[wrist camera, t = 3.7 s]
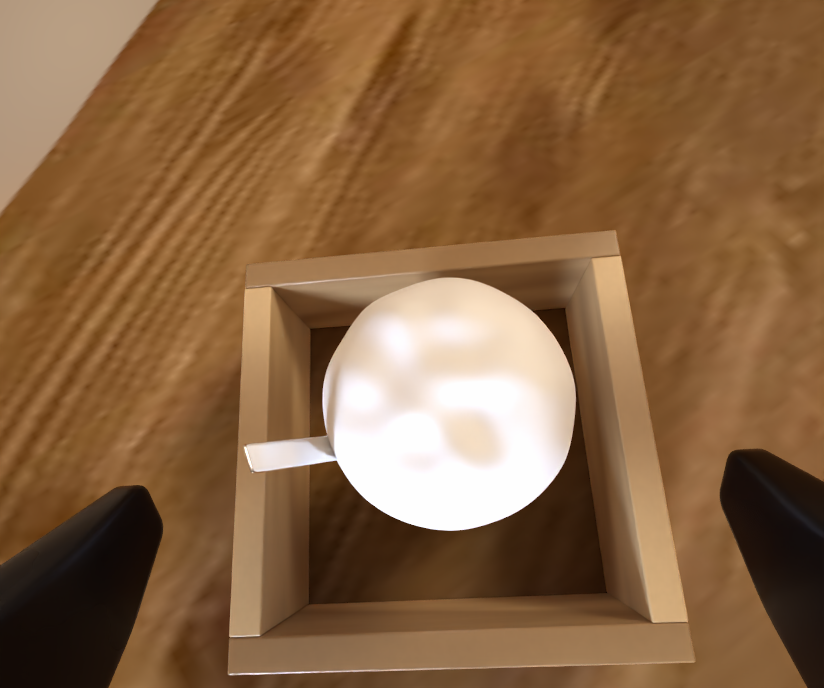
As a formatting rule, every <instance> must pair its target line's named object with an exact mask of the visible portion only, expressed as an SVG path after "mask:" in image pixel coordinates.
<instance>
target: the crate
mask: <svg viewBox="0 0 824 688" xmlns="http://www.w3.org/2000/svg"><path fill="white" fill-rule="evenodd" d="M437 278H464V279H469V280H474V281H477V282H480V283H483V284H486V285H489V286H491V287H493V288H495V289H498V290H500V291H501V292H503V293H505V294H507V295H509V296H511V297H512V298H514V299H516V300H517V301H519V302H520V303H522V304H523V305H525V306H526V307H527V308H529V309H530V310H531V311H533V310H546V309H558V308H566V309H565V311H566V318H567V325H568V332H569V339H570V345H571V352H572V359H573V366H574V373H575V380H576V387H577V393H578V400H579V407H580V414H581V421H582V428H583V434H584V441H585V448H586V455H587V462H588V469H589V476H590V482H591V489H592V496H593V503H594V510H595V517H596V524H597V530H598V537H599V544H600V551H601V558H602V565H603V571H604V578H605V585H606V591H607V593H597V594H571V595H545V596H518V597H492V598H466V599H440V600H414V601H388V602H362V603H336V604H310V605H308V604H309V489H310V465H305V466H299V467H293V468H287V469H281V470H275V471H269V472H263V473H252V472H251V471H250V469H249V466H248V463H247V460H246V457H245V454H244V451H243V445H244V444H248V443H256V442H266V441H277V440H287V439H298V438H308V437H310V329H313V328H325V327H337V326H350V325H352V324H353V322H354V321H355V320H356V318H357V317H358V316H359V315H360V313H361V312H362V311H363V310H364V309H365V308H366V307H367V306H369V305H370V304H371V303H373V302H374V301H376V300H378V299H379V298H381V297H383V296H385V295H388V294H390V293H392V292H395V291H397V290H400V289H403V288H405V287H408V286H411V285H413V284H416V283H420V282H423V281H427V280H431V279H437ZM245 287H246V289H245V299H244V321H243V343H242V365H241V387H240V409H239V431H238V453H237V475H236V497H235V519H234V541H233V563H232V585H231V607H230V629H229V636H230V637H231V638H230V639H229V654H228V675H258V674H295V673H331V672H367V671H403V670H440V669H476V668H512V667H548V666H585V665H621V664H657V663H693V662H695V655H694V649H693V644H692V638H691V633H690V628H689V624H688V623H687V621H688V616H687V611H686V605H685V600H684V595H683V589H682V584H681V578H680V573H679V568H678V562H677V557H676V551H675V546H674V541H673V535H672V530H671V524H670V519H669V514H668V508H667V503H666V497H665V492H664V487H663V481H662V476H661V470H660V465H659V460H658V454H657V449H656V443H655V438H654V433H653V427H652V422H651V416H650V411H649V406H648V400H647V395H646V389H645V384H644V379H643V373H642V368H641V362H640V357H639V352H638V346H637V341H636V335H635V330H634V324H633V319H632V314H631V308H630V303H629V297H628V292H627V287H626V281H625V276H624V270H623V265H622V260H621V256H620V250H619V245H618V240H617V234H616V231H615V230H609V231H598V232H587V233H577V234H566V235H555V236H544V237H534V238H523V239H512V240H501V241H490V242H480V243H469V244H458V245H447V246H436V247H426V248H415V249H404V250H393V251H383V252H372V253H361V254H350V255H339V256H329V257H318V258H307V259H296V260H286V261H275V262H264V263H253V264H247V265H246V284H245Z"/></svg>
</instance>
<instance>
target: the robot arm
mask: <svg viewBox="0 0 824 688" xmlns="http://www.w3.org/2000/svg"><path fill="white" fill-rule="evenodd" d="M720 502H721V506H722V509H723V511H724V514H725V516H726V518H727V521H728V523H729V526H730V528H731V530H732V533H733V535H734V538H735V540H736V542H737V545H738V547H739V550H740V552H741V554H742V557H743V559H744V561H745V564H746V566H747V569H748V571H749V573H750V576H751V578H752V581H753V583H754V585H755V588H756V590H757V592H758V595H759V597H760V599H761V601H762V603H763V606H764V608H765V610H766V612H767V614H768V616H769V618H770V620H771V621H772V623H773V625H774V627H775V629H776V631H777V633H778V635H779V636H780V638H781V640H782V642H783V644H784V646H785V647H786V649H787V651H788V653H789V655H790V657H791V658H792V660H793V662H794V664H795V666H796V668H797V669H798V671H799V673H800V675H801V677H802V679H803V680H804V682H805V684H806V686H807V688H824V482H823V481H821V480H820V479H818V478H816V477H814V476H812V475H810V474H809V473H807V472H805V471H803V470H801V469H799V468H797V467H796V466H794V465H792V464H790V463H788V462H786V461H785V460H783V459H781V458H779V457H777V456H775V455H774V454H772V453H770V452H768V451H766V450H763V449H742V450H734V451H732V452H731V453H730V454H729V456H728V458H727V462H726V466H725V471H724V475H723V479H722V483H721V488H720ZM162 534H163V523H162V519H161V517H160V515H159V513H158V511H157V509H156V506H155V504H154V502H153V500H152V498H151V496H150V494H149V492H148V490H147V489H146V488H145V487H144V486H140V485H133V486H120V487H116V488H114V489H112V490H111V491H109V492H108V493H106V494H105V495H104V496H102V497H101V498H99V499H98V500H96V501H95V502H93V503H92V504H90V505H89V506H87V507H86V508H84V509H83V510H81V511H80V512H79V513H77V514H76V515H74V516H73V517H71V518H70V519H68V520H67V521H65V522H64V523H62V524H61V525H59V526H58V527H56V528H55V529H53V530H52V531H51V532H49V533H48V534H46V535H45V536H43V537H42V538H40V539H39V540H37V541H36V542H34V543H33V544H31V545H30V546H28V547H27V548H26V549H24V550H23V551H21V552H20V553H18V554H17V555H15V556H14V557H12V558H11V559H9V560H8V561H6V562H5V563H3V564H2V565H0V688H108V687H109V685H110V682H111V680H112V678H113V675H114V673H115V671H116V668H117V666H118V663H119V661H120V659H121V656H122V654H123V652H124V649H125V647H126V644H127V642H128V639H129V637H130V634H131V632H132V629H133V626H134V623H135V620H136V618H137V615H138V612H139V608H140V605H141V602H142V599H143V596H144V592H145V589H146V586H147V583H148V580H149V577H150V573H151V570H152V567H153V564H154V561H155V558H156V554H157V551H158V548H159V545H160V542H161V538H162Z"/></svg>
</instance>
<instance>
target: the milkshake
mask: <svg viewBox="0 0 824 688" xmlns="http://www.w3.org/2000/svg"><path fill="white" fill-rule="evenodd" d="M575 408H576V392H575V384H574V379H573V375H572V372H571V369H570V366H569V364H568V361H567V359H566V357H565V355H564V353H563V351H562V349H561V347H560V345H559V343H558V342H557V340H556V339H555V337H554V336H553V334H552V333H551V331H550V330H549V329H548V328H547V326H546V325H545V324H544V323H543V322H542V321H541V319H540V318H539V317H538V316H537V315H536V314H535V313H533V312H532V311H531V310H530V309H529V308H527V307H526V306H525V305H523V304H522V303H520V302H519V301H517V300H516V299H514V298H512V297H511V296H509V295H507V294H505V293H503V292H501V291H500V290H498V289H495V288H493V287H491V286H489V285H486V284H483V283H480V282H477V281H474V280H469V279H464V278H437V279H431V280H427V281H423V282H420V283H416V284H413V285H411V286H408V287H405V288H403V289H400V290H397V291H395V292H392V293H390V294H388V295H385V296H383V297H381V298H379V299H378V300H376V301H374V302H373V303H371V304H370V305H369V306H367V307H366V308H365V309H364V310H363V311H362V312H361V313H360V315H359V316H358V317H357V318H356V320H355V321H354V322H353V324H352V325H351V327H350V328H349V330H348V331H347V333H346V334H345V336H344V338H343V339H342V341H341V343H340V344H339V346H338V347H337V349H336V351H335V353H334V354H333V356H332V358H331V361H330V363H329V365H328V368H327V371H326V375H325V379H324V385H323V415H324V422H325V427H326V432H327V436H319V437H308V438H298V439H287V440H277V441H266V442H256V443H248V444H244V445H243V451H244V454H245V457H246V460H247V463H248V466H249V469H250V471H251V472H252V473H263V472H269V471H275V470H281V469H287V468H293V467H299V466H305V465H312V464H318V463H324V462H330V461H336V460H337V462H338V464H339V466H340V467H341V469H342V471H343V472H344V474H345V475H346V477H347V478H348V480H349V481H350V483H351V484H352V485H353V486H354V488H355V489H356V490H357V491H358V492H359V493H360V494H361V495H362V496H363V497H364V498H365V499H366V500H367V501H368V502H370V503H371V504H372V505H374V506H375V507H376V508H378V509H380V510H381V511H383V512H384V513H386V514H388V515H390V516H392V517H394V518H396V519H399V520H401V521H404V522H406V523H409V524H412V525H416V526H419V527H424V528H429V529H435V530H449V531H453V530H465V529H471V528H475V527H479V526H483V525H486V524H489V523H492V522H495V521H498V520H500V519H503V518H505V517H508V516H510V515H512V514H514V513H516V512H517V511H519V510H521V509H522V508H524V507H525V506H527V505H528V504H529V503H531V502H532V501H533V500H534V499H536V498H537V497H538V496H539V495H540V494H541V493H542V492H543V491H544V490H545V489H546V488H547V487H548V486H549V485H550V483H551V482H552V481H553V480H554V478H555V477H556V475H557V474H558V473H559V471H560V469H561V468H562V466H563V464H564V462H565V459H566V457H567V454H568V451H569V448H570V444H571V439H572V433H573V426H574V418H575Z"/></svg>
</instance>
